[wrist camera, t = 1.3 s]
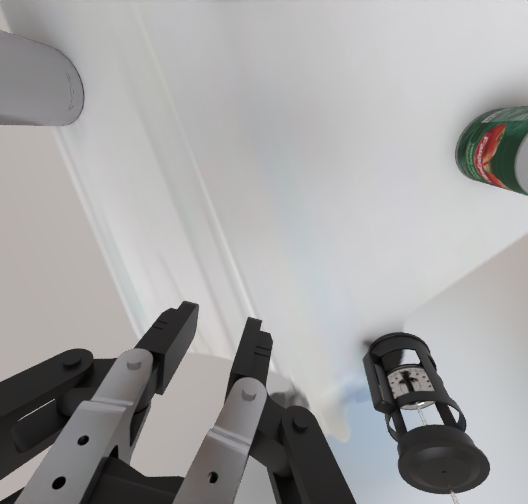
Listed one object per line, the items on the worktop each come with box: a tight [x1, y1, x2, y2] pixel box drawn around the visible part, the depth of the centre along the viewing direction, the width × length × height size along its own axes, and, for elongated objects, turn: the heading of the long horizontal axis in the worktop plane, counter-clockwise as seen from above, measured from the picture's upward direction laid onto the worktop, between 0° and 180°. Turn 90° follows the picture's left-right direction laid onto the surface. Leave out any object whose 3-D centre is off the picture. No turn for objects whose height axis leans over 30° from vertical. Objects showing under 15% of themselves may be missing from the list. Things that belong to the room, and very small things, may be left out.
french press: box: [363, 333, 490, 504], centre depth 35 cm, size 12×9×23 cm
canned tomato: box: [455, 106, 528, 195], centre depth 28 cm, size 8×8×11 cm
